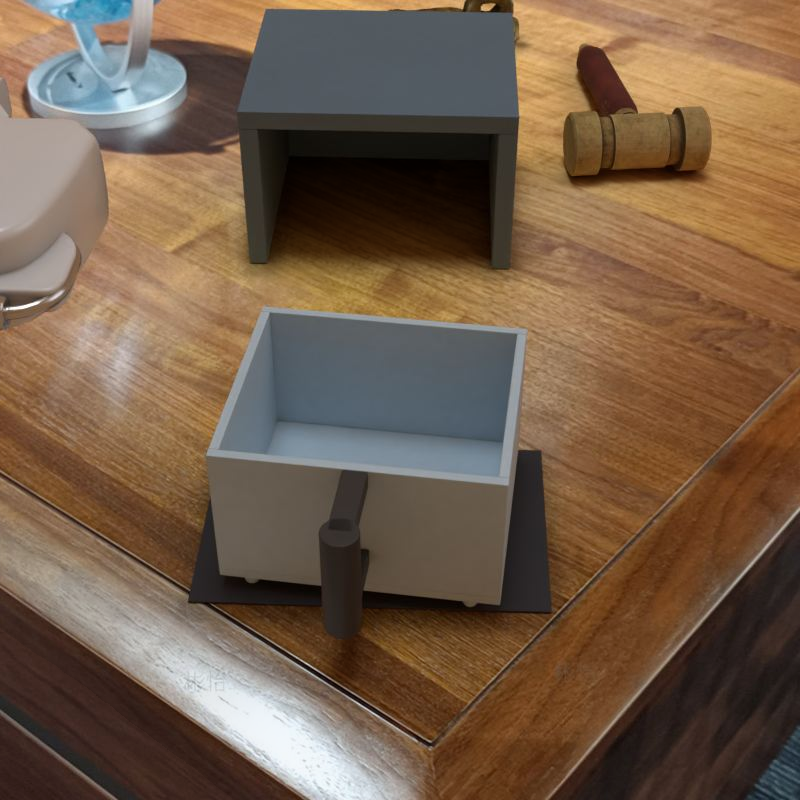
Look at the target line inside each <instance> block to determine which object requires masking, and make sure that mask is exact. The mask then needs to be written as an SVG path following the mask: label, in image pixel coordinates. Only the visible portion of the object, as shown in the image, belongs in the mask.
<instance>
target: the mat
mask: <svg viewBox="0 0 800 800" xmlns="http://www.w3.org/2000/svg"><path fill="white" fill-rule="evenodd" d="M543 472H544V471H543V459H542V450H539V449H518V455H517V464H516V473H515V481H514V490H513V498H512V507H511V515H510V524H509V533H508V541H507V550H506V558H505V567H504V576H503V584H502V593H501V601H500V605H493V604H484V603H477V604H476V605H475V606H473V607H467V606H466V605H464V603H463V601H456V600H447V599H438V598H429V597H419V596H410V595H401V594H392V593H383V592H373V591H364V590H363V594H362V609H363V608H365V609H367V608H368V609H398V610H399V609H401V610H430V611H431V610H433V611H434V610H435V611H463V612H465V611H467V612H468V611H469V612H497V613H498V612H503V613H533V614H534V613H535V614H538V613H539V614H552V600H551V599H552V598H551V583H550V569H549V568H550V566H549V555H548V554H549V551H548V538H547V536H548V535H547V523H546V522H547V521H546V505H545V490H544V489H545V488H544V474H543ZM207 504H208V505H207V509H206V514H205V519H204V523H203V529H202V533H201V537H200V542H199V547H198V551H197V555H196V556H197V557H196V561H195V567H194V570H193V575H192V580H191V584H190V588H189V589H190V590H189V593H188V599H187V603H194V604H197V603H198V604H227V605H228V604H230V605H259V606H260V605H262V606H263V605H265V606H266V605H268V606H298V607H322V589H321V586H318V585H309V584H300V583H291V582H281V581H272V580H263V579H259V580H258V581H257V582H256V583H249V582H247V581H246V580H245V577H235V576H226V575H220V571H219V563H218V555H217V546H216V538H215V530H214V521H213V513H212V505H211V496H210V495H209V499H208V503H207Z"/></svg>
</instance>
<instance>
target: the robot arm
mask: <svg viewBox="0 0 800 800" xmlns="http://www.w3.org/2000/svg"><path fill="white" fill-rule="evenodd" d="M12 107H13V106H12V102H11V98H10V93H9V86H8V83H7V80H6V79H5V78H4V77H3V76H0V332H1V331H6V330H7V329H11V328H16V327H19V326H22V325H25V324H28V323H30V322H33V321H34V320H35V319H37V318H39V317H41V316H42V315H43V314H45V313H52V312H56V311H58V310H60V309H61V308H62V307H63V306H64V305H65V304H66V303H67V301H68V300H69V299H70V297H71V294H72V292H73V289H74V287H75V284H76V281H77V279H78V276H79V274H80V272H81V270H82V269H83V267H84V266H85V265H86V263H87V262H88V259H89V258H90V257H91V255H92V253H93V251H94V250H95V248H96V247H97V244H98V242H99V241H100V239H101V237H102V235H103V233H104V231H105V229H106V226H107V224H108V220H109V215H110V209H109V208H110V206H109V193H108V186H107V177H106V170H105V166H104V159H103V156H102V150H101V148H100V144H99V141H98V139H97V137H95V135H94V134H93V133H92V132H91V131H90V130H88V129H87V127H85V126H84V125H83V124H82V123H80V121H77V120H75V119H70V118H57V117H56V118H55V117H49V118H48V117H47V118H42V117H41V118H40V117H36V118H35V117H32V118H31V117H13V108H12Z"/></svg>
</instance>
